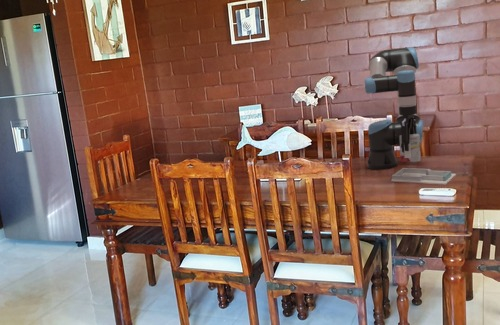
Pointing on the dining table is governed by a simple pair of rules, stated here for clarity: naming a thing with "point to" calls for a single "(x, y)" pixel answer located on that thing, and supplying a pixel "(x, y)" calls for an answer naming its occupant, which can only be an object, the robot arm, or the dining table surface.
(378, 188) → the dining table surface
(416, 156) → the ink box
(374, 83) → the robot arm
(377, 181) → the dining table surface
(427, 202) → the dining table surface
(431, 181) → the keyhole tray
